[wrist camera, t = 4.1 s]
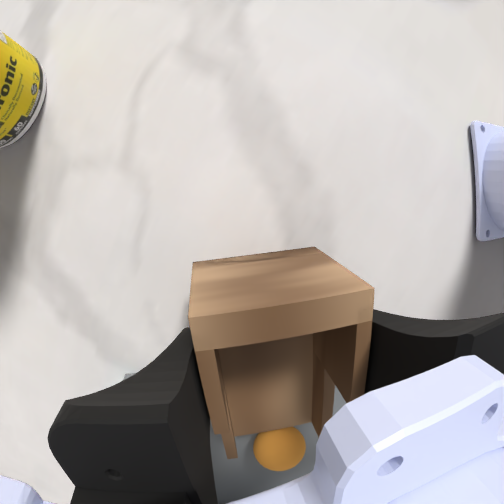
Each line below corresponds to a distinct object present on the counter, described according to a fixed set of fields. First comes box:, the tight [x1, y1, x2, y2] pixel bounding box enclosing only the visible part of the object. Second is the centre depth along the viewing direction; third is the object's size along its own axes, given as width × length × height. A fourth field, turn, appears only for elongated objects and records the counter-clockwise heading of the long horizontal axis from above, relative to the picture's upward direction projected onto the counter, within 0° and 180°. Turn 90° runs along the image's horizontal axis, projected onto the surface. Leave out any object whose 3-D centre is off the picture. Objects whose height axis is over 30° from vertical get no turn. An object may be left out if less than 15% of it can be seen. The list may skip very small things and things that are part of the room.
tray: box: [124, 374, 346, 504], centre depth 16 cm, size 18×14×4 cm
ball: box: [253, 426, 306, 471], centre depth 15 cm, size 3×3×3 cm
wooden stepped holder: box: [188, 247, 374, 459], centre depth 11 cm, size 5×9×5 cm, turn 6°
